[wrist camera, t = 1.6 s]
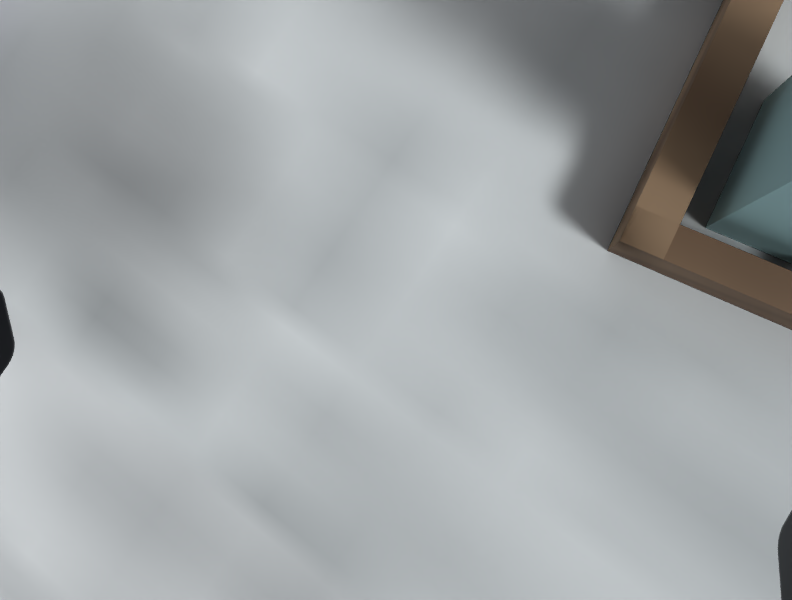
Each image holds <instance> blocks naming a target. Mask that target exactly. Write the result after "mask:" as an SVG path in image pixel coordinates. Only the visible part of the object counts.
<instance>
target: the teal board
mask: <svg viewBox="0 0 792 600" xmlns="http://www.w3.org/2000/svg"><path fill="white" fill-rule="evenodd" d="M705 228H707V229H710V230H712V231H715V232H717V233H719V234H722V235H724V236H727V237H729V238H731V239H734V240H736V241H739V242H741V243H743V244H746V245H748V246H751V247H753V248H756V249H758V250H760V251H763V252H765V253H768V254H770V255H772V256H775V257H777V258H780V259H782V260H784V261H787V262H789V263H792V76H791V77H789V78H788V79H787V80H786V81H785V82H784V83H783V84H782V85H780V86H779V87H778V88H777V89H776V90H775V91H774V92H773V93H771V94H770V95H769V96H768V97H767V98H766V99H765V100H764V102H763V104H762V106H761V109H760V111H759V113H758V115H757V117H756V119H755V122H754V124H753V126H752V128H751V130H750V132H749V135H748V137H747V139H746V141H745V143H744V145H743V148H742V150H741V152H740V154H739V156H738V158H737V160H736V163H735V165H734V167H733V169H732V171H731V173H730V176H729V178H728V180H727V182H726V184H725V186H724V189H723V191H722V193H721V195H720V197H719V199H718V202H717V204H716V206H715V208H714V210H713V212H712V214H711V217H710V219H709V221H708V223H707V225H706V227H705Z"/></svg>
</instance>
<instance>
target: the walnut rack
mask: <svg viewBox="0 0 792 600" xmlns="http://www.w3.org/2000/svg"><path fill="white" fill-rule="evenodd" d="M782 3H783V0H723V2H722V4H721V6H720V8H719V10H718V13H717V15H716V17H715V19H714V21H713V23H712V25H711V28H710V30H709V32H708V34H707V36H706V38H705V41H704V43H703V45H702V47H701V49H700V51H699V54H698V56H697V58H696V60H695V62H694V64H693V67H692V69H691V71H690V73H689V75H688V77H687V80H686V82H685V84H684V86H683V88H682V90H681V93H680V95H679V97H678V99H677V101H676V103H675V105H674V108H673V110H672V112H671V114H670V116H669V118H668V121H667V123H666V125H665V127H664V129H663V131H662V134H661V136H660V138H659V140H658V142H657V144H656V147H655V149H654V151H653V153H652V155H651V157H650V160H649V162H648V164H647V166H646V168H645V170H644V173H643V175H642V177H641V179H640V181H639V183H638V186H637V188H636V190H635V192H634V194H633V196H632V198H631V201H630V203H629V205H628V207H627V209H626V211H625V214H624V216H623V218H622V220H621V222H620V224H619V227H618V229H617V231H616V233H615V235H614V237H613V240H612V242H611V244H610V246H609V248H608V250H607V251H609V252H612V253H614V254H616V255H619V256H621V257H623V258H626V259H628V260H630V261H633V262H635V263H637V264H640V265H642V266H644V267H647V268H649V269H651V270H654V271H656V272H658V273H661V274H663V275H665V276H668V277H670V278H672V279H675V280H677V281H679V282H682V283H684V284H686V285H689V286H691V287H693V288H696V289H698V290H700V291H702V292H705V293H707V294H709V295H712V296H714V297H716V298H719V299H721V300H723V301H726V302H728V303H730V304H733V305H735V306H737V307H740V308H742V309H744V310H747V311H749V312H751V313H754V314H756V315H758V316H761V317H763V318H765V319H768V320H770V321H772V322H775V323H777V324H779V325H782V326H784V327H786V328H789V329H791V330H792V271H790V270H788V269H785V268H783V267H781V266H778V265H776V264H773V263H771V262H769V261H766V260H764V259H761V258H759V257H757V256H754V255H752V254H749V253H747V252H745V251H742V250H740V249H737V248H735V247H733V246H730V245H728V244H725V243H723V242H721V241H718V240H716V239H713V238H711V237H709V236H706V235H704V234H702V233H699V232H697V231H694V230H692V229H690V228H687V227H685V226H682V225H680V223H681V221H682V219H683V217H684V214H685V212H686V210H687V208H688V206H689V204H690V201H691V199H692V197H693V195H694V193H695V191H696V188H697V186H698V184H699V182H700V180H701V178H702V176H703V173H704V171H705V169H706V167H707V165H708V163H709V160H710V158H711V156H712V154H713V152H714V150H715V147H716V145H717V143H718V141H719V139H720V137H721V134H722V132H723V130H724V128H725V126H726V124H727V121H728V119H729V117H730V115H731V113H732V111H733V109H734V106H735V104H736V102H737V100H738V98H739V96H740V93H741V91H742V89H743V87H744V85H745V83H746V80H747V78H748V76H749V74H750V72H751V70H752V67H753V65H754V63H755V61H756V59H757V57H758V55H759V52H760V50H761V48H762V46H763V44H764V42H765V39H766V37H767V35H768V33H769V31H770V29H771V26H772V24H773V22H774V20H775V18H776V16H777V13H778V11H779V9H780V7H781V5H782Z"/></svg>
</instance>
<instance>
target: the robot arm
mask: <svg viewBox="0 0 792 600" xmlns="http://www.w3.org/2000/svg"><path fill="white" fill-rule="evenodd" d="M14 346H15V342H14V337H13V332H12V328H11V324H10V320H9V315H8V311H7V307H6V303H5V298H4V295H3V293H2V292H1V290H0V376H1V374H2V373H3V371H4V370H5V368H6V367H7V366H8V364H9V362H10V361H11V358H12V356H13V352H14ZM778 560H779V573H780V587H781V600H792V511H791V512H790V514H789V516H788V518H787V519H786V521H785V523H784V524H783V527H782V529H781V532H780V535H779V540H778Z"/></svg>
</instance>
